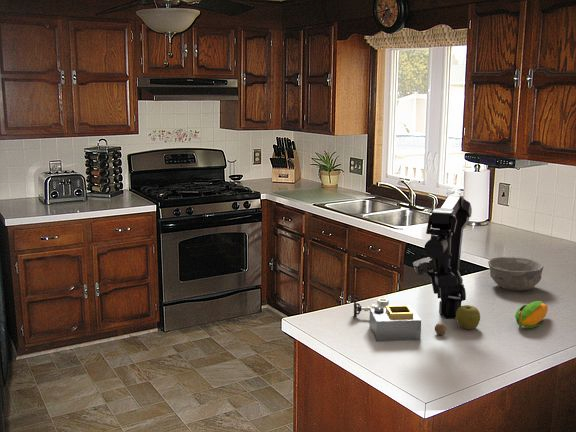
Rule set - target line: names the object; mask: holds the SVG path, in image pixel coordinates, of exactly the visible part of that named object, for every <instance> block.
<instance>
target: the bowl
mask: <svg viewBox="0 0 576 432" xmlns="http://www.w3.org/2000/svg"><path fill="white" fill-rule="evenodd" d="M487 263H488V267H489V274H490V278H491V279H492V280H493V282H495V284H497V286H499V287H501V288H502V289H504V290H506V291H507V290H508V291H510V292H511V291H512V292H524V291H528V290H530V289H531V290H532V289H533V288H534V287H536V285H537V284H539V283H540V281H541V280H542V273H543V271H544V264H542V263H541V262H539V261H537V260H534V259H531V258H526V257H525V258H524V257H523V258H522V257H515V256H513V257H512V256H511V257H510V256H500V257H494V258H491V259H489V260H488V261H487Z"/></svg>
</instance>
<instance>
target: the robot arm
mask: <svg viewBox="0 0 576 432" xmlns="http://www.w3.org/2000/svg"><path fill="white" fill-rule="evenodd" d="M472 210H473V209H472V204H471V202H469V201H468V200H466V199H465V198H464V196H463V195H461V194H447V196H446V200H445V201H444V203H443V204H442V205H441V207H439V208H435V209H433V210H432V211H431V213H429V216H428V221H427V227H426V231H425V233H426V234H425V235H430V238H429V240H427V241H426V243H425V245H424V246H423V247H424V248H423V249H424V253H425V255H427V256H428V257H423V258H421V259H417V260H416V261H413V262H412V265H413V269H414V271H415V273H416V274H417V275H418V276H421V275H423V274H425V273H426V274H427V275H428V276H429V277H430V282H431V286H432V293H433V294H434V295H436V294H437V299H440V301H439V303H438V304H439V306H438V313H439V314H440V315H441V316H442V318H444V319H456V311H457V309H458V308H459V307H460V306H462V302H463V301H467V297H466V296H467V295H466V294H467V292H466V288H465V285H464V279H463V276H462V275H461V273H460V263H461V255H462V253H461V252H462V246H463V244H462V243H463V234H464V229H465V228H466V227H467V225H468V224H469V223H470V218H472Z"/></svg>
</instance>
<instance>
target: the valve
mask: <svg viewBox="0 0 576 432" xmlns="http://www.w3.org/2000/svg"><path fill="white" fill-rule="evenodd" d="M376 302H377V303H376V304H377V305H376V304H371V305H370V306H369V305H364V306H362V305H361V304H360V303H358V299H356V298H353V318H354V317H358V316H359V314H360V313H361V312H362V311H364V312H369V311H370V308H375V307H383V308H386V306H389V302H390V301H389V300H388V299H387V298H385V297H383V298H377V301H376Z"/></svg>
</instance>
